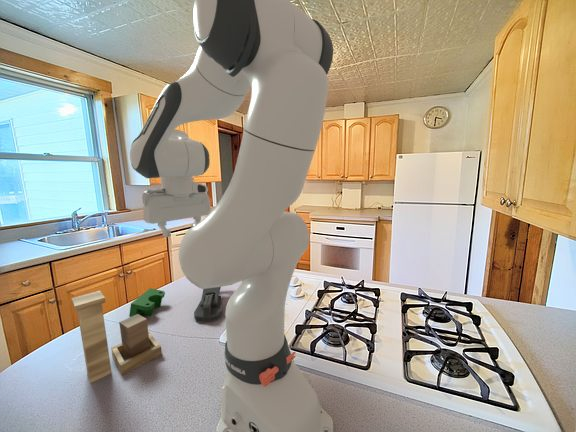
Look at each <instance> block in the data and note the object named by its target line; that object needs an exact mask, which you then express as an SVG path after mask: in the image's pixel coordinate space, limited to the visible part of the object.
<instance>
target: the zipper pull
mask: <svg viewBox="0 0 576 432" xmlns="http://www.w3.org/2000/svg"><path fill="white" fill-rule="evenodd" d="M221 289H222V287H215V288H207V289H202V294H201V295H202V296H201V299H200V301H199V303H198V305H197V307H196V308H195V310H194V312H193V318H194V321H195V322H196V323H200V324H201V323H203V324H205V323H207V324H208V323H211V322H215V321H218V320H220V319H221V317H222V316H223V304H222V302H223V301H222V295H220V292H221Z"/></svg>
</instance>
